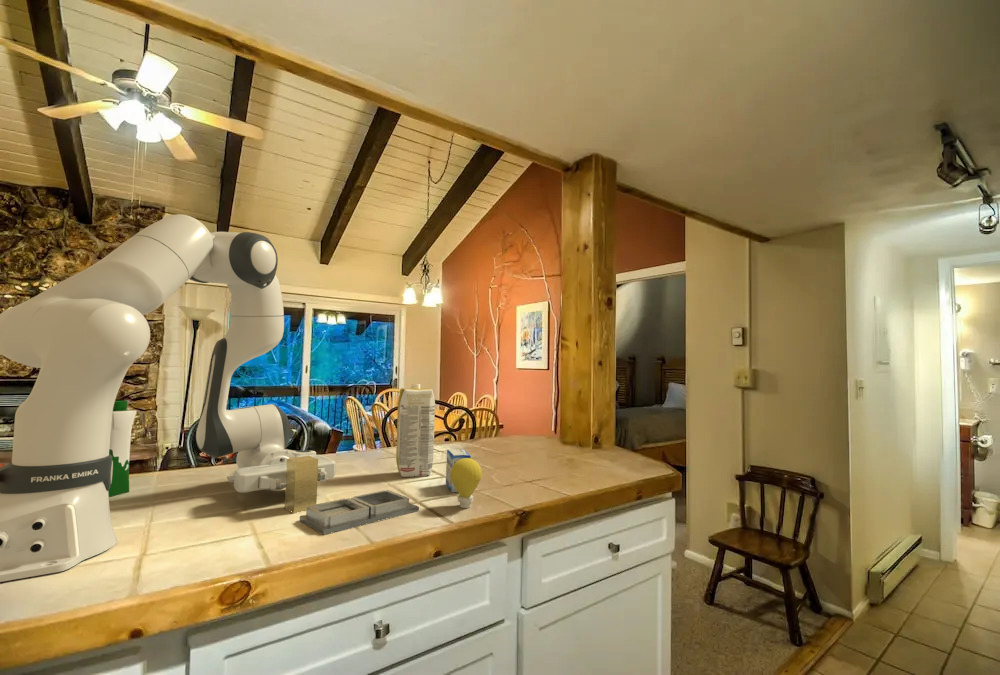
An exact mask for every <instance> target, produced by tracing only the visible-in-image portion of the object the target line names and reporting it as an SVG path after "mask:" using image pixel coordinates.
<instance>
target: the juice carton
mask: <svg viewBox="0 0 1000 675" xmlns="http://www.w3.org/2000/svg"><path fill="white" fill-rule="evenodd" d="M434 394H435V393H434V389H432V388H426V387H425V388H421V384H420V383H413V384H412V383H411V384H410V388H403V387H402V388H400V390H399V395H398V399H397V400H398V401H397V419H396V420H397V422H396V452H395V453H396V455H395V456H396V457H395V458H396V459H395V461H396V468H397V471H398V473H399V475H400V476H401V478H413V477H414V476H415V477H424V476H425V477H426V476H427V475H429V476H431V474H432V471H433V470H432V469H433V465H434V449H435V419H436V416H435V414H436V413H435V412H436V402H435V401H436V399H435V395H434Z"/></svg>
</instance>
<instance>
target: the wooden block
mask: <svg viewBox="0 0 1000 675" xmlns="http://www.w3.org/2000/svg"><path fill="white" fill-rule="evenodd" d="M317 476H318V459H317V458H314V457H311V456H302V457H294V458H287V469H286V487H285V494H284V509H285V508H287V509H288V510H287V509H286V510H287V511H289V510H290V511H292V512H293V513H292V512H291V513H292V514H298V513H297V512H299V513H302V512H301V511H304V512H306V508H307V507H309V506H311V505H315V504H317V498H318V497H317V496H318V481H317ZM290 511H289V512H290Z"/></svg>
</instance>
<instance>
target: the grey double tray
mask: <svg viewBox="0 0 1000 675" xmlns="http://www.w3.org/2000/svg"><path fill="white" fill-rule="evenodd" d="M418 510H419V511H420V506H419V505H415V504H413V503H411V502H410V498H409V497H407V496H404V495H402V494H400V493H397V492H394V491H392V490H389V489H387V490H380V491H374V492H369V493H366V494H365V493H364V494H359V495H355V496H353V497H351V498H350V497H349V498H340V499H335V500H331V501H325V502H322V503H316V504H315V505H311V506H309V507H307V508H306V511H305V513H306V514H304V515H303V514H302V515H300V516H299V521H300V522H302V523H303V524H305V526H306V525H307V526H308V527H309V528H311V527H312V528H311V529H313V530H314V529H315V531H316V530H317V531H316V532H318V531H319V532H320V534H321V533H322V534H326V535H328V534H327V533H330V534H332V533H331V532H334V533H336V532H335V531H338V532H341V530H342V531H344V530H345V529H346V530H349V529H352V527H353V528H356V526H357V527H360V525H361V526H364V525H363V524H365V525H367V524H366V523H369V524H371V523H370V522H373V523H375V522H374V521H377V522H379V521H378V520H381V521H383V520H382V519H385V520H387V519H386V518H389V519H391V518H390V517H392V518H396V517H400V516H404V515H407V513H408V514H411V513H415V511H416V512H419V511H418ZM403 514H404V515H403ZM399 515H400V516H399ZM395 516H396V517H395ZM348 528H349V529H348ZM319 532H318V533H319ZM322 534H321V535H322Z"/></svg>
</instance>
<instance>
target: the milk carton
mask: <svg viewBox="0 0 1000 675" xmlns="http://www.w3.org/2000/svg"><path fill="white" fill-rule="evenodd" d="M136 414H137V410H133V409H128V400H120V399H119V400H115V403H114V406H113V412H112V422H111V433H110V447H109V454H111V456H112V461H113V472H112V484H111V485H110V489H109V490H108V493H109V498H110V497H115V496H118V495H122V494H126V493H130V456H131V455H130V454H131V437H132V428H133V424H134V421H135V419H136V418H135V417H136Z"/></svg>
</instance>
